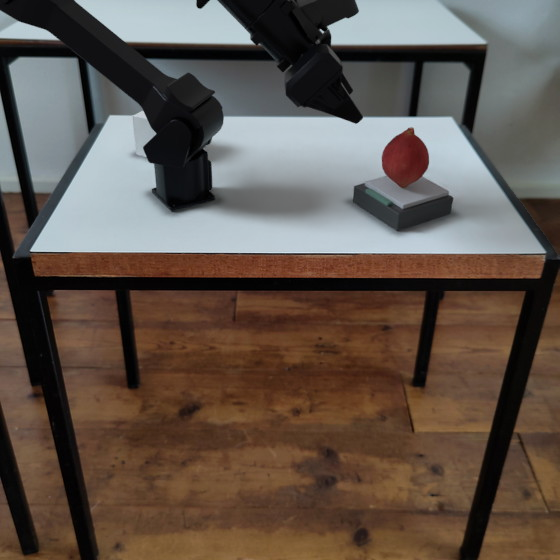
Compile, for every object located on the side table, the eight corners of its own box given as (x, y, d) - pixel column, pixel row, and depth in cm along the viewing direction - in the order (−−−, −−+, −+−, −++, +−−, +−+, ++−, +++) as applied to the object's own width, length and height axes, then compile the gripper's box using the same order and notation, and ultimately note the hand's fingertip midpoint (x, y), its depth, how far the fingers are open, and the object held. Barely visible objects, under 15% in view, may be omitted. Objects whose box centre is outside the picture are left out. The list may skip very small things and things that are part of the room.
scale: (396, 231, 85) (399, 209, 83) (352, 202, 91) (354, 181, 89) (450, 213, 89) (454, 192, 87) (404, 186, 95) (407, 166, 94)
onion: (372, 190, 87) (378, 130, 83) (388, 173, 92) (395, 115, 87) (416, 201, 85) (425, 139, 81) (430, 183, 89) (439, 124, 85)
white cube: (158, 141, 107) (155, 103, 104) (192, 148, 105) (190, 109, 102) (136, 154, 103) (132, 115, 99) (170, 162, 101) (167, 122, 97)
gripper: (324, -33, 65) (425, 84, 71) (310, -62, 80) (394, 36, 87) (241, 52, 69) (344, 155, 76) (243, 9, 84) (328, 97, 91)
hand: (354, 106), depth 82 cm, fingers open, 9 cm apart
